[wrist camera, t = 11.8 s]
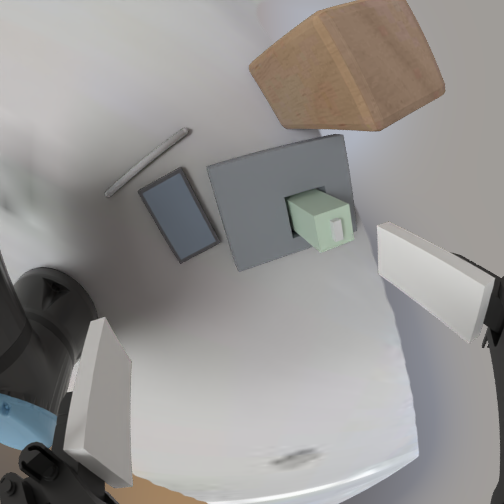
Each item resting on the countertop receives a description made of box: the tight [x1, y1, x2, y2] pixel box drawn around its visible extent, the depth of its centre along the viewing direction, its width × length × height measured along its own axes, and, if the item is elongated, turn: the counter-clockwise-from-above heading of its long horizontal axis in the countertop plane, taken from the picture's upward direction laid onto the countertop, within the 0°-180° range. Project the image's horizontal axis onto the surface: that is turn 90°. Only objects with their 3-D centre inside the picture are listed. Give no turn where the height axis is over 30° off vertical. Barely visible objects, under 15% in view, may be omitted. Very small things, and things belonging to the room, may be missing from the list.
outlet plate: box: [206, 134, 357, 272], centre depth 39 cm, size 18×14×2 cm
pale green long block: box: [284, 188, 354, 253], centre depth 36 cm, size 4×4×10 cm
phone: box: [138, 167, 220, 264], centre depth 37 cm, size 6×11×1 cm, turn 24°
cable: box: [105, 128, 188, 197], centre depth 33 cm, size 13×1×1 cm, turn 124°
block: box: [249, 0, 445, 131], centre depth 25 cm, size 10×10×20 cm
